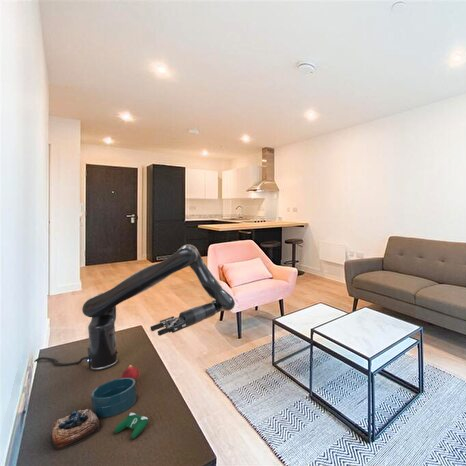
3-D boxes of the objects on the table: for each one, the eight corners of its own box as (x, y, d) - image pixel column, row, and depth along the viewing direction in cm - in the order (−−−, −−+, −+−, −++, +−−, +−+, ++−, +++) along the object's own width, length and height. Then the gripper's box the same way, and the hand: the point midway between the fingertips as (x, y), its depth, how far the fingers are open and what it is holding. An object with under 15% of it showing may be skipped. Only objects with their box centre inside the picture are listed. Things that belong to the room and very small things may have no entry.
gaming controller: (141, 440, 93) (153, 419, 96) (131, 438, 90) (144, 416, 94) (121, 433, 96) (133, 412, 99) (111, 431, 93) (125, 410, 97)
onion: (130, 389, 116) (129, 370, 116) (118, 387, 117) (117, 368, 117) (143, 380, 122) (142, 362, 121) (131, 379, 123) (130, 361, 122)
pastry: (94, 415, 102) (93, 399, 101) (102, 431, 94) (101, 414, 94) (49, 433, 93) (48, 416, 93) (54, 453, 86) (52, 435, 85)
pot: (83, 416, 101) (81, 397, 100) (114, 394, 113) (112, 377, 112) (116, 418, 100) (115, 399, 99) (144, 395, 112) (143, 378, 112)
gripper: (184, 306, 142) (146, 319, 130) (198, 311, 133) (158, 326, 121) (187, 320, 143) (150, 335, 131) (201, 326, 135) (162, 343, 122)
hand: (154, 331), depth 126 cm, fingers open, 8 cm apart
